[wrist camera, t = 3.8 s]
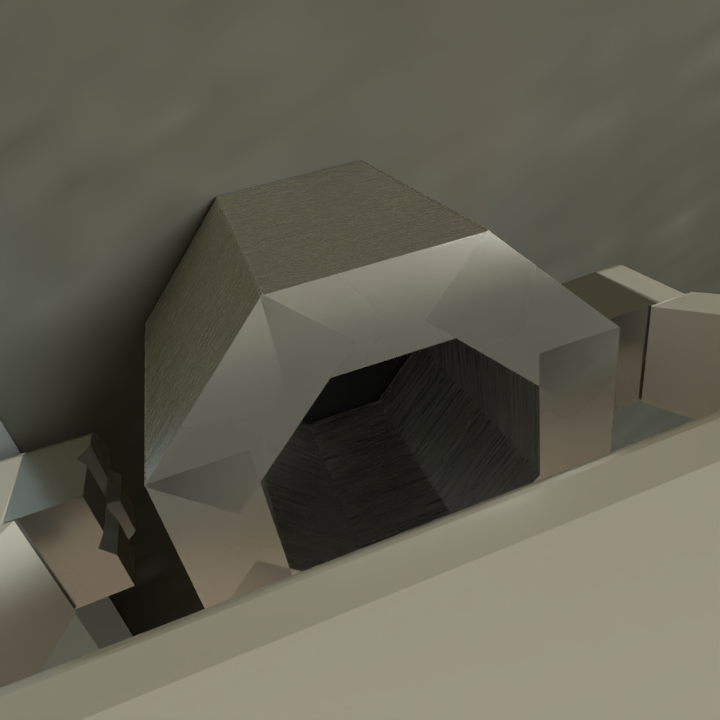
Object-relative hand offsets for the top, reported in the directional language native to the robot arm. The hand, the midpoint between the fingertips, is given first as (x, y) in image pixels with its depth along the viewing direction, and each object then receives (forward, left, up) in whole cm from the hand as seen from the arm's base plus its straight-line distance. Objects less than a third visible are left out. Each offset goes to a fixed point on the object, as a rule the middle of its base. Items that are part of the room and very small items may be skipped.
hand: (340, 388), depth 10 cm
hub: (0, 0, -2) cm, 2 cm away
